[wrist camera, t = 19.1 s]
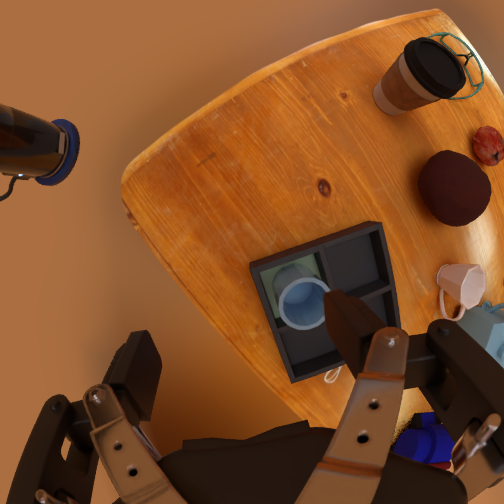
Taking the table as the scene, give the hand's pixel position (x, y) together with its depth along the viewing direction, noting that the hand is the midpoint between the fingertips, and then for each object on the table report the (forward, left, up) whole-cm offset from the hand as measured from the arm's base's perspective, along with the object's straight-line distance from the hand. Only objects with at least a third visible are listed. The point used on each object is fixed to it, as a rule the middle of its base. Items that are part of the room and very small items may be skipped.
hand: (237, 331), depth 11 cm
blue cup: (+5, -7, -24) cm, 26 cm away
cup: (+30, -17, -25) cm, 43 cm away
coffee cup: (+29, +15, -25) cm, 41 cm away
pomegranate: (+48, +4, -25) cm, 54 cm away
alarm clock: (+22, -53, -25) cm, 63 cm away
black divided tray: (+9, -11, -25) cm, 29 cm away
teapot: (+39, -31, -25) cm, 56 cm away
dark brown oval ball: (+32, -1, -25) cm, 41 cm away
